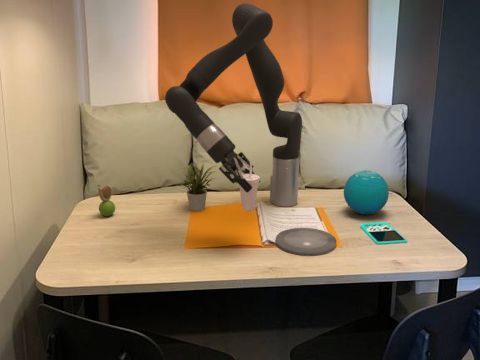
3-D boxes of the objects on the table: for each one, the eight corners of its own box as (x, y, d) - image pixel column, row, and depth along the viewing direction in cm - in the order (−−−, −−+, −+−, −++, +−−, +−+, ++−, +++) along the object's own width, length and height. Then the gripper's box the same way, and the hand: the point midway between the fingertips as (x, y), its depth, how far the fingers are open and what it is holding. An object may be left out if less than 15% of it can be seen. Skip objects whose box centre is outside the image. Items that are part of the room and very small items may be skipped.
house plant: (228, 206, 196) (228, 162, 191) (205, 218, 185) (205, 171, 180) (196, 199, 203) (195, 156, 199) (172, 210, 192) (170, 165, 187)
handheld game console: (387, 224, 182) (387, 221, 181) (408, 244, 167) (409, 240, 166) (357, 226, 180) (358, 222, 180) (377, 247, 165) (377, 242, 165)
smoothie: (257, 213, 158) (258, 166, 154) (235, 211, 159) (235, 164, 155) (261, 205, 164) (261, 159, 160) (239, 203, 165) (240, 158, 161)
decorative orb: (349, 203, 200) (351, 163, 195) (391, 209, 194) (394, 168, 189) (337, 216, 187) (339, 174, 183) (381, 224, 181) (385, 180, 176)
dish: (263, 241, 167) (263, 237, 167) (305, 226, 178) (305, 223, 178) (306, 261, 154) (306, 257, 153) (348, 244, 165) (349, 240, 164)
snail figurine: (94, 218, 185) (91, 184, 181) (105, 212, 191) (103, 178, 187) (107, 220, 183) (105, 185, 179) (118, 214, 189) (116, 180, 185)
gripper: (214, 140, 151) (254, 186, 151) (233, 129, 164) (270, 172, 164) (197, 157, 155) (236, 202, 154) (217, 145, 167) (253, 187, 167)
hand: (253, 186), depth 159 cm, fingers closed on smoothie, 6 cm apart
